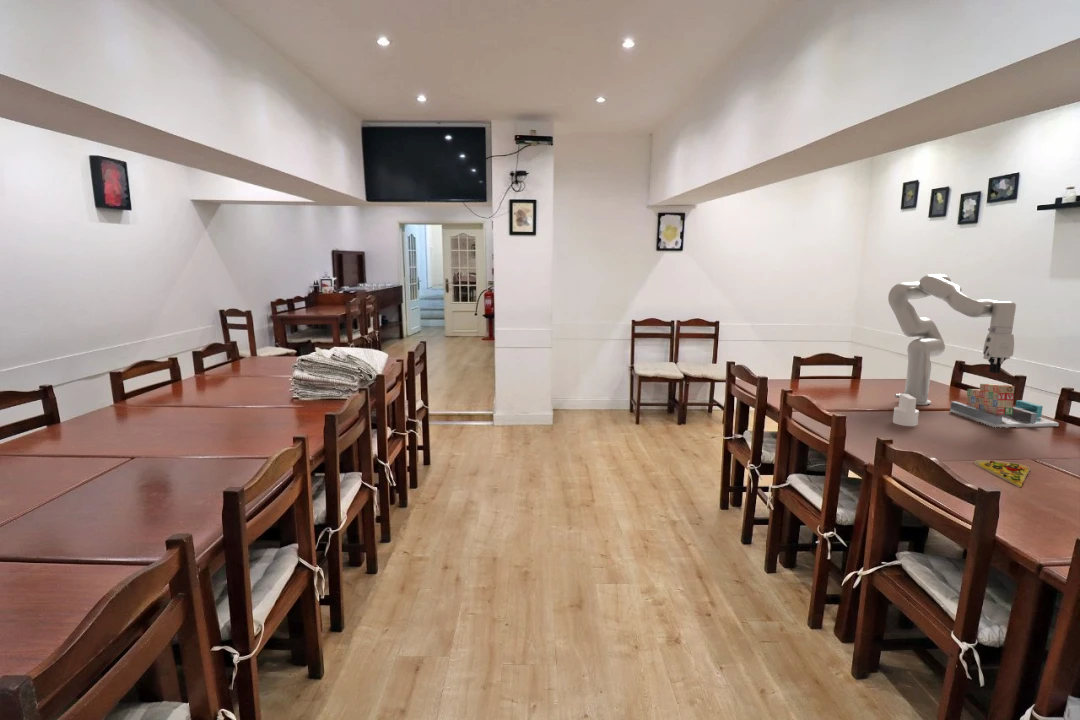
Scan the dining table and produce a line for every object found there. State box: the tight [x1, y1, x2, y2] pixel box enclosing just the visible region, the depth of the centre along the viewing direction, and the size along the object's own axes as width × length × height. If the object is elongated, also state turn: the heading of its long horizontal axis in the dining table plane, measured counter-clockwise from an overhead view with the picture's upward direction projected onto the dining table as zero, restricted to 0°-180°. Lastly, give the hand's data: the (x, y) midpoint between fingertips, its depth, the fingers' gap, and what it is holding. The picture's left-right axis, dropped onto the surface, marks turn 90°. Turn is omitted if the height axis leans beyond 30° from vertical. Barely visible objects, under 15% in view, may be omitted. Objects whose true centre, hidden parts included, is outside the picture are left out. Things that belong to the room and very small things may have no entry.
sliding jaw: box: [1004, 399, 1043, 423], centre depth 243 cm, size 12×24×5 cm, turn 4°
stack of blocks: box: [966, 383, 1015, 415], centre depth 242 cm, size 21×6×12 cm, turn 171°
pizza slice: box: [972, 459, 1031, 488], centre depth 182 cm, size 16×21×3 cm
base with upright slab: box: [892, 393, 920, 427], centre depth 237 cm, size 9×9×12 cm
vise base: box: [949, 400, 1060, 429], centre depth 243 cm, size 28×24×5 cm
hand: (994, 372), depth 239 cm, fingers closed
